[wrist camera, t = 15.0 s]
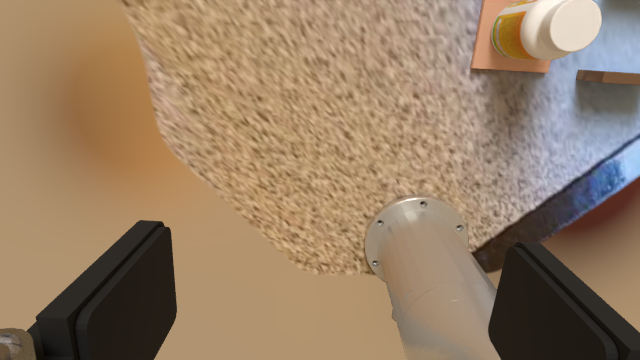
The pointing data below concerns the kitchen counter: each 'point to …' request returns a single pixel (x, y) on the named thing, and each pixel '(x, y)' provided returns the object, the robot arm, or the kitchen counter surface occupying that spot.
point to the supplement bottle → (545, 28)
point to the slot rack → (609, 77)
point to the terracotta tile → (485, 51)
